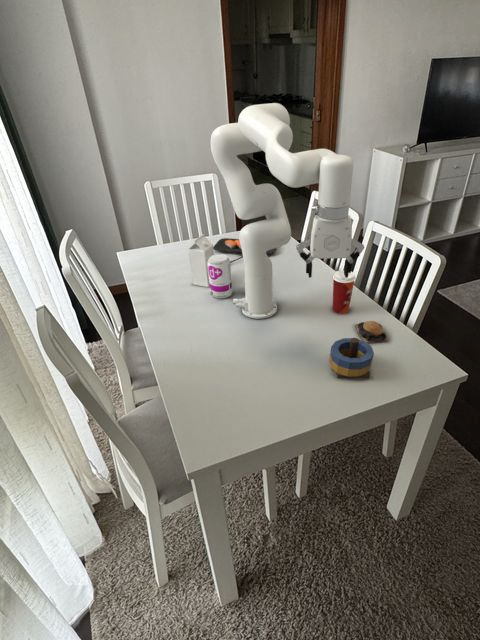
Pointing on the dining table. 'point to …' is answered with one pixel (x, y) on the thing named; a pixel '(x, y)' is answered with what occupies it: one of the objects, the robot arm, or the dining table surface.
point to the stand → (353, 354)
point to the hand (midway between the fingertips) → (327, 275)
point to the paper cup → (342, 291)
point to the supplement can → (220, 276)
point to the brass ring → (347, 371)
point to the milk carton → (200, 260)
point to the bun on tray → (371, 332)
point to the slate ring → (351, 362)
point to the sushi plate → (232, 247)
